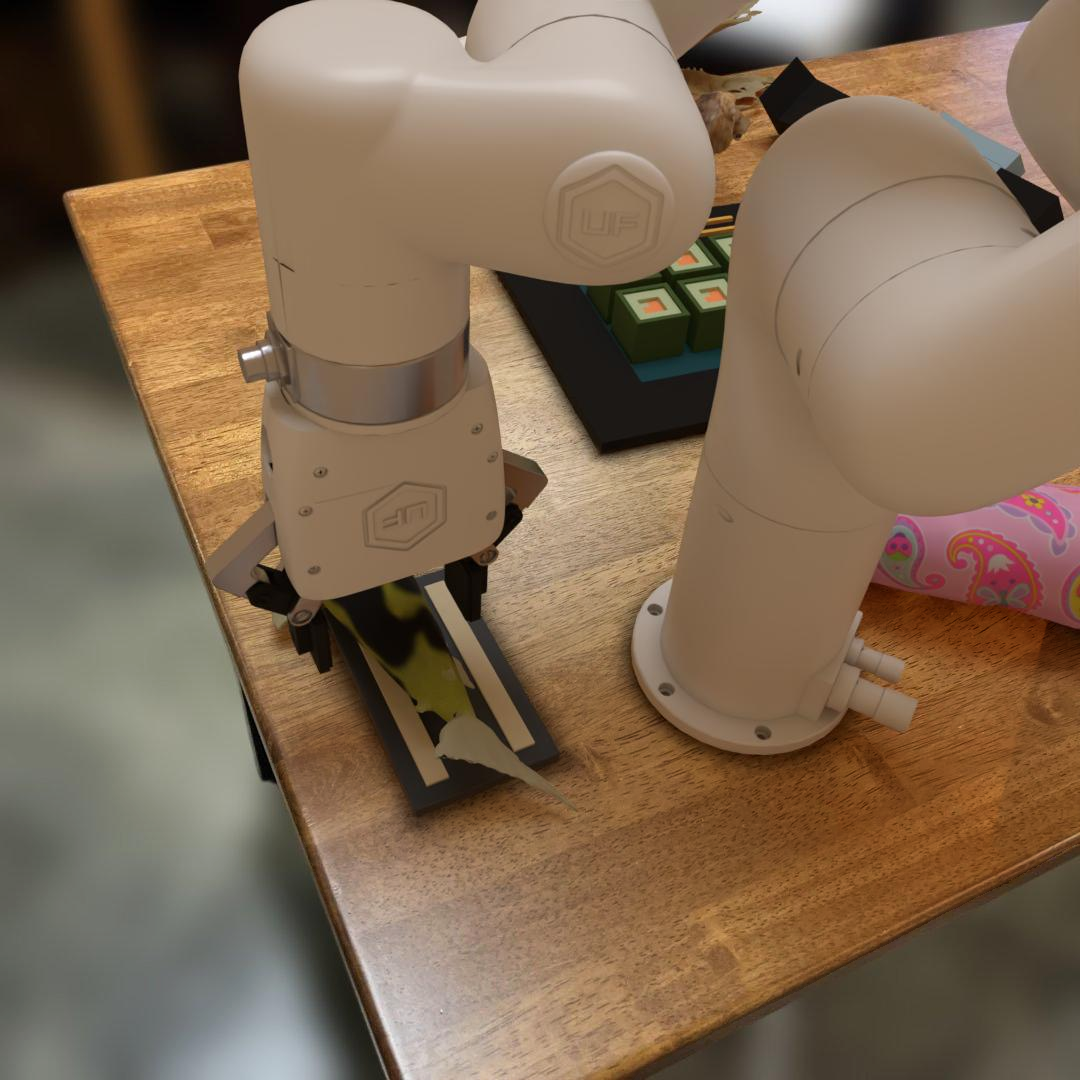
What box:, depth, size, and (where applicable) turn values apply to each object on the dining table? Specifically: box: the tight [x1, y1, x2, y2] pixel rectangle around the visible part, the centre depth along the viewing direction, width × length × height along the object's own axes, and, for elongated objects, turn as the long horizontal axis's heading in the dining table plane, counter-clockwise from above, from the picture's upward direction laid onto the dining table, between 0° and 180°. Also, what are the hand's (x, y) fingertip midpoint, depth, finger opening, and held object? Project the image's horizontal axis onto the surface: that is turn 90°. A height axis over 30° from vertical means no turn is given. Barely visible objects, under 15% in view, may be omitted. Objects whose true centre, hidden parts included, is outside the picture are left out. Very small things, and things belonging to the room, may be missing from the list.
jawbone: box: [681, 0, 777, 113], centre depth 110 cm, size 16×10×10 cm
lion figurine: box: [692, 91, 752, 156], centre depth 97 cm, size 15×5×9 cm, turn 27°
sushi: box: [495, 202, 741, 454], centre depth 83 cm, size 25×25×4 cm
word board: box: [322, 568, 561, 819], centre depth 60 cm, size 14×8×1 cm, turn 26°
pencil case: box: [870, 482, 1080, 630], centre depth 65 cm, size 21×9×9 cm
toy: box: [757, 56, 1065, 234], centre depth 94 cm, size 10×8×30 cm
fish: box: [271, 575, 581, 813], centre depth 57 cm, size 11×24×10 cm
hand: (391, 624), depth 57 cm, fingers open, 7 cm apart
